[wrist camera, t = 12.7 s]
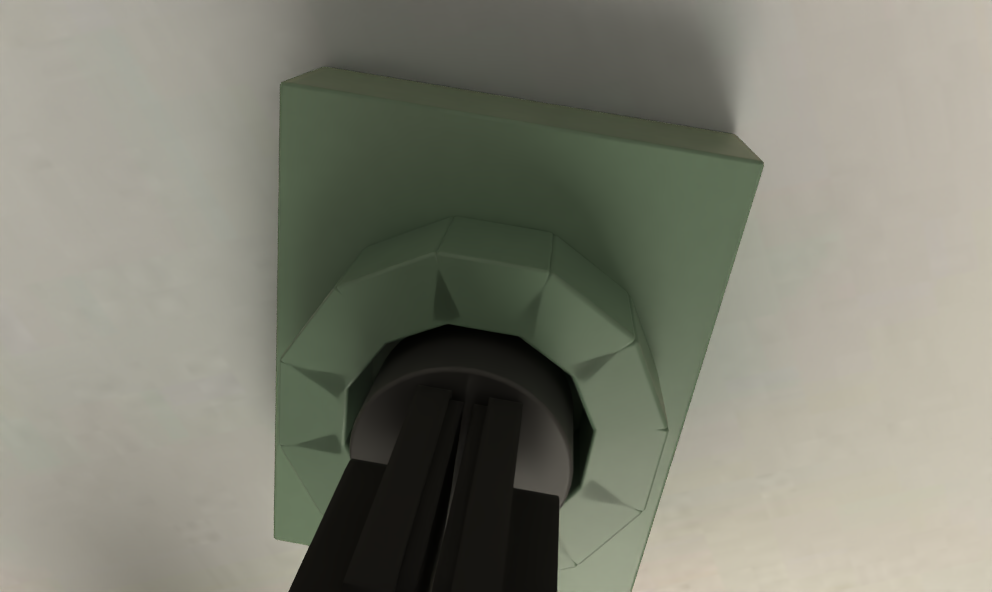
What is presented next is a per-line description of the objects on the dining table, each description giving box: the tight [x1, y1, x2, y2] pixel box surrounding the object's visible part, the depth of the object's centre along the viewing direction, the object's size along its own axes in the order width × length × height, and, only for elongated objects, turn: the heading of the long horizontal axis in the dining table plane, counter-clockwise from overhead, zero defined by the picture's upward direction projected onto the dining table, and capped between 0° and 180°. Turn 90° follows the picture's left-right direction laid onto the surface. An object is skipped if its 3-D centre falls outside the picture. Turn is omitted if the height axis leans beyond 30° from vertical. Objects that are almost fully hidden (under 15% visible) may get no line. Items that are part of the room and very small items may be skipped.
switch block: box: [274, 67, 764, 592], centre depth 14 cm, size 10×8×4 cm
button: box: [349, 324, 573, 529], centre depth 12 cm, size 4×4×2 cm
